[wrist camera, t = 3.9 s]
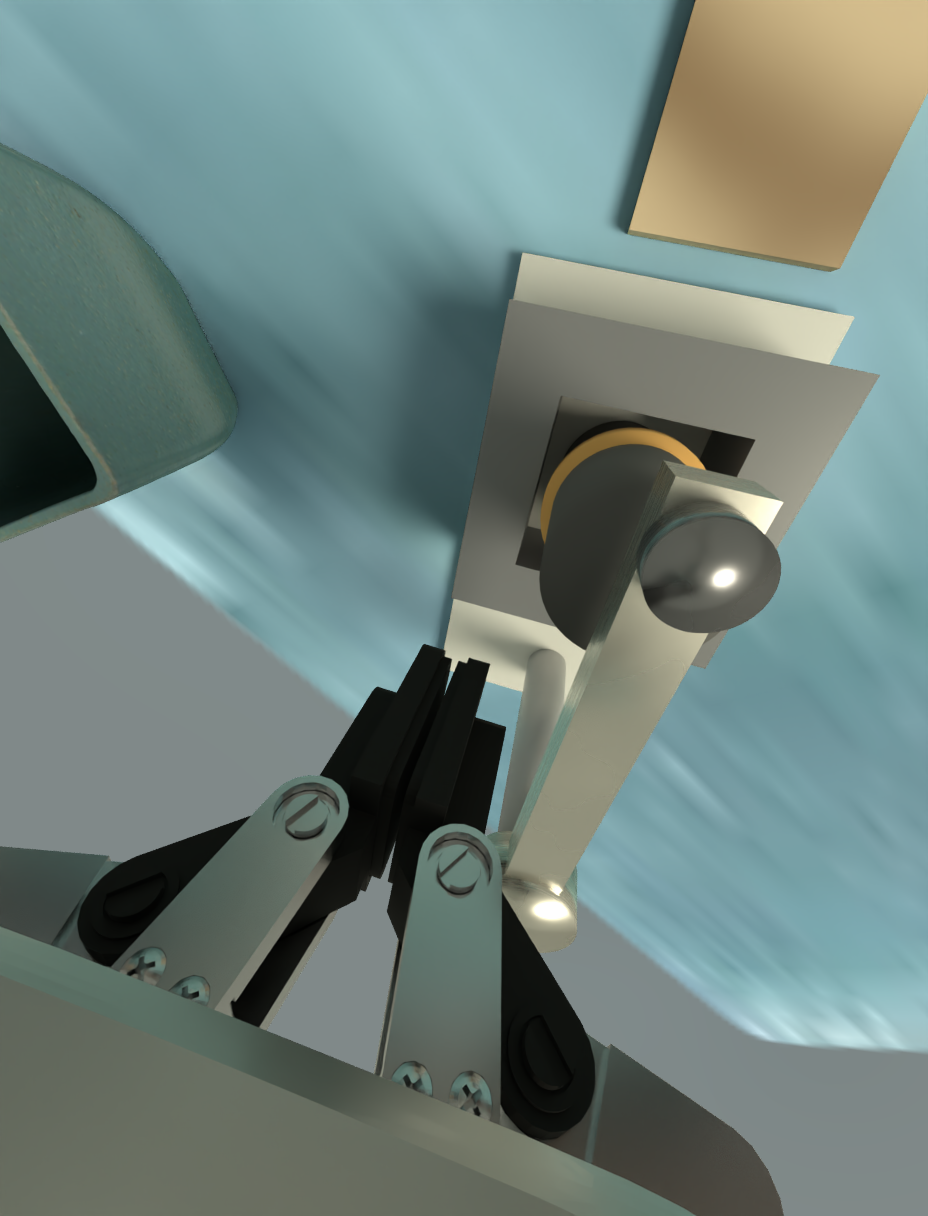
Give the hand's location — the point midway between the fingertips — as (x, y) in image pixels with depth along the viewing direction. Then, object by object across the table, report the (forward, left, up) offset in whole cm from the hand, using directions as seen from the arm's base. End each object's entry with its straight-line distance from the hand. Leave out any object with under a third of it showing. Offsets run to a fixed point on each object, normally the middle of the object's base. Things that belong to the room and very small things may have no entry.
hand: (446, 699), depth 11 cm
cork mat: (-14, +4, -10) cm, 17 cm away
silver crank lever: (0, +3, 0) cm, 3 cm away
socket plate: (-2, +3, -10) cm, 11 cm away
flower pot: (-4, -16, -10) cm, 19 cm away
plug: (-4, +3, -10) cm, 11 cm away
